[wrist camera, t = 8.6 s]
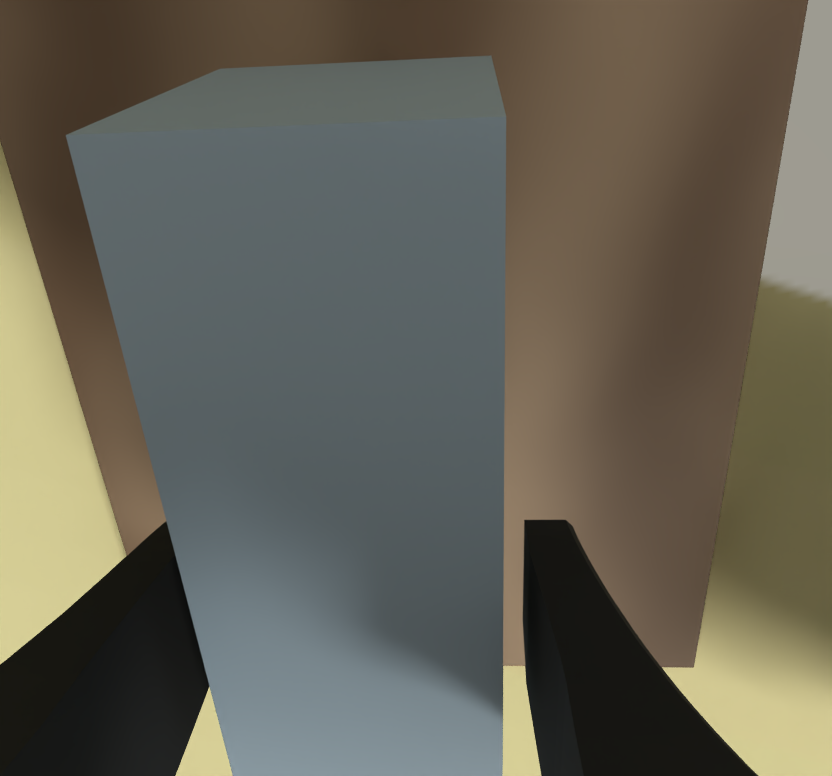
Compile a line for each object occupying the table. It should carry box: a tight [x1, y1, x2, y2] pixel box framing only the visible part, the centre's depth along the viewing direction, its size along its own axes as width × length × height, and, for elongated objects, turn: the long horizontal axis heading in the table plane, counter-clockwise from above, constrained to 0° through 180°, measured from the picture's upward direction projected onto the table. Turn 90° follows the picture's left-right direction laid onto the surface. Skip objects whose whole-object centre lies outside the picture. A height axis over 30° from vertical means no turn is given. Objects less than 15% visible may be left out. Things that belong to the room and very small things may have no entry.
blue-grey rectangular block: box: [66, 56, 506, 776], centre depth 12 cm, size 14×4×5 cm, turn 3°
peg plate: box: [0, 0, 808, 667], centre depth 16 cm, size 15×18×4 cm
